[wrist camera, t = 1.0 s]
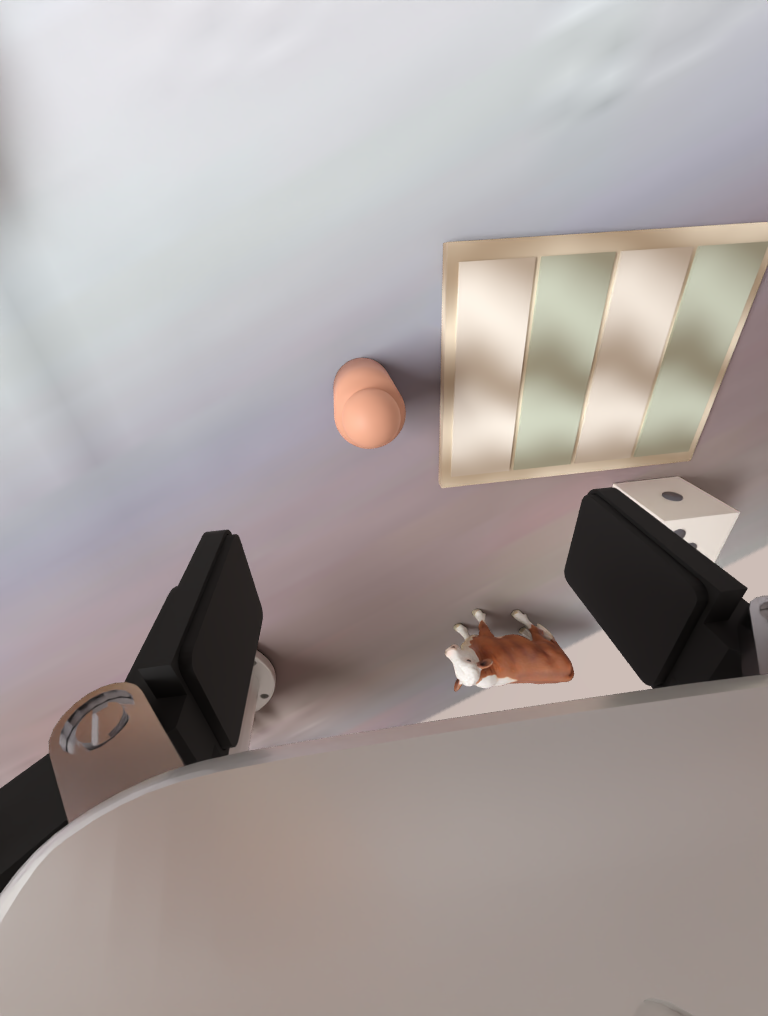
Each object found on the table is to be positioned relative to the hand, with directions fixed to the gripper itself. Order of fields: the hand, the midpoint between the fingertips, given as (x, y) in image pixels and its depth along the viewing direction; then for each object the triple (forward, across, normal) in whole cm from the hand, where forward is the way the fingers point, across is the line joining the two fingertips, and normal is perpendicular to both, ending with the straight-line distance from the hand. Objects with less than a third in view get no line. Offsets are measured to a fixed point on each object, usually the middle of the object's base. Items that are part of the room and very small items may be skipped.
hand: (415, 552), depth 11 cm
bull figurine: (+19, -11, +25) cm, 33 cm away
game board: (+19, -16, 0) cm, 25 cm away
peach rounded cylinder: (+19, 0, 0) cm, 19 cm away
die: (+19, -24, +13) cm, 33 cm away
